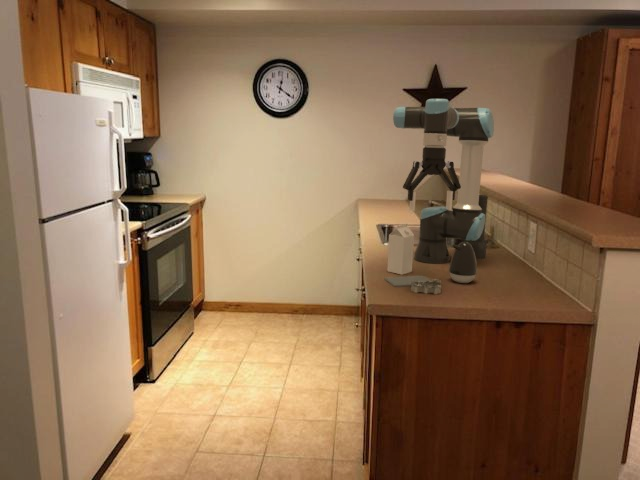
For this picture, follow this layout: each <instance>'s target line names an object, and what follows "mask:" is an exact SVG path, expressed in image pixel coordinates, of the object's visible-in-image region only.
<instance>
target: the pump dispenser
mask: <svg viewBox="0 0 640 480" xmlns="http://www.w3.org/2000/svg"><path fill="white" fill-rule="evenodd" d="M452 248H453V249H454V251H453V252H452V256H451V258H450V260H449V266H448V272H449V275H450V278H451V280H452V281H454V282H456V283H460V284H469V283H470V282H472V281H474V279H475V278H476V275H477V273H478V266H477V259H476V257H475V253H474V250H473V248H472V246H471V243H470V242H468V241H461V242H459V243H458V244H457V245H456V244H453V245H452Z"/></svg>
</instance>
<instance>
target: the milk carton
mask: <svg viewBox="0 0 640 480" xmlns="http://www.w3.org/2000/svg"><path fill="white" fill-rule="evenodd" d="M414 240H415V235H414V233H413V232H412V230H411V229H410V228H409V227H408V223H405V224H399V225H396V229H395V230H393V231H392V232H390V234H388V245H387V246H388V248H387V249H388V250H387V271H386V272H389V273H393V274H398V275H402V276H403V275H405V274H409V273H412V272H413V261H414V260H413V259H414V245H415V243H414Z"/></svg>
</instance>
